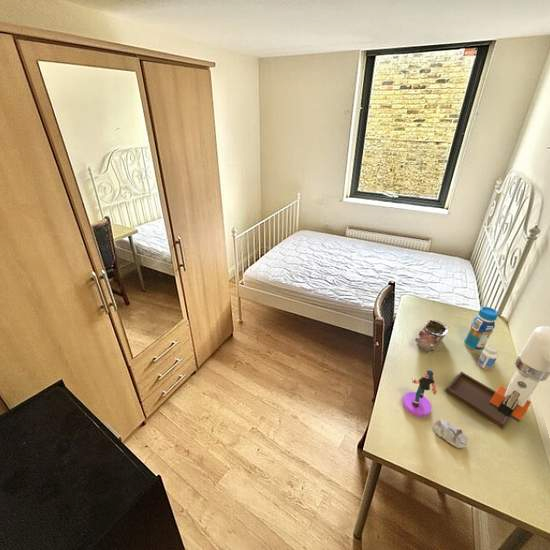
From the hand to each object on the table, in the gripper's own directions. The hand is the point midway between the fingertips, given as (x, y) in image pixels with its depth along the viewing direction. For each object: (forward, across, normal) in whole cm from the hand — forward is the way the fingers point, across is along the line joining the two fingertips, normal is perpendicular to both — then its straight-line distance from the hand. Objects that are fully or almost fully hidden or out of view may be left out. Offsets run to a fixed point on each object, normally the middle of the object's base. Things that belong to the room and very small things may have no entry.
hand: (506, 408), depth 90 cm
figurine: (+16, -7, +21) cm, 27 cm away
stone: (+16, -9, +8) cm, 20 cm away
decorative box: (+16, +29, +32) cm, 47 cm away
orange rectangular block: (0, 0, 0) cm, 0 cm away
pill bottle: (+16, +36, +12) cm, 41 cm away
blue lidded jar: (+16, +46, +20) cm, 53 cm away
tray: (+16, +15, +7) cm, 23 cm away
